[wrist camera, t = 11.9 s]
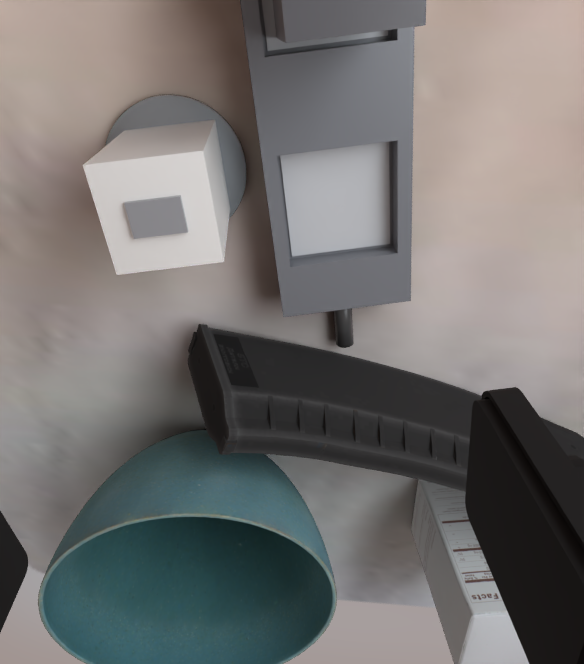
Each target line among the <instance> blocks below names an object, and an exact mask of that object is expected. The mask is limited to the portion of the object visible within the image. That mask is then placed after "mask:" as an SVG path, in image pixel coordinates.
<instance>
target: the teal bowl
mask: <svg viewBox="0 0 584 664" xmlns="http://www.w3.org/2000/svg"><path fill="white" fill-rule="evenodd" d="M38 597H39V598H38V606H39V612H40V617H41V620H42V622H43V624H44V626H45V628H46V630H47V631H48V633H49V634H50V635H51V637H52V638H53V639H54V640H55V641H56V642H57V643H58V644H59V645H60V646H61V647H62V648H63V649H64V650H65V651H67V652H68V653H69V654H71V655H72V656H74V657H75V658H77V659H78V660H80V661H82V662H84V663H86V664H284V663H285V662H288V661H290V660H291V659H293V658H295V657H296V656H298V655H299V654H301V653H302V652H304V651H305V650H306V649H307V648H309V647H310V646H311V645H312V644H314V643H315V642H316V641H317V640H318V638H320V636H321V635H322V634H323V633H324V632H325V630H326V629H327V627H328V626H329V624H330V622H331V620H332V618H333V615H334V612H335V608H336V601H337V594H336V587H335V582H334V576H333V572H332V568H331V565H330V561H329V558H328V554H327V551H326V548H325V545H324V543H323V540H322V537H321V535H320V532H319V530H318V527H317V525H316V523H315V521H314V518H313V516H312V514H311V513H310V511H309V509H308V507H307V505H306V503H305V502H304V500H303V498H302V497H301V495H300V494H299V492H298V490H297V489H296V488H295V486H294V485H293V484H292V482H291V481H290V479H289V478H288V477H287V476H286V475H285V473H284V472H283V471H282V470H281V469H280V468H279V467H278V466H277V465H276V464H275V463H274V462H273V461H272V460H271V459H270V458H268V457H267V456H266V455H265V454H261V453H231V454H230V455H221V454H219V451H218V448H217V445H216V442H215V441H214V440H213V439H212V438H210V437H209V435H208V433H207V430H196V431H189V432H185V433H181V434H178V435H175V436H172V437H169V438H167V439H164V440H162V441H160V442H158V443H156V444H154V445H152V446H150V447H148V448H146V449H145V450H143V451H141V452H140V453H138V454H137V455H135V456H134V457H132V458H131V459H130V460H129V461H127V462H126V463H125V464H124V465H122V466H121V467H120V468H119V469H118V470H116V471H115V472H114V473H113V474H112V475H111V476H110V477H109V478H108V479H107V480H106V481H105V482H104V483H103V484H102V485H101V486H100V488H99V489H98V490H97V491H96V492H95V493H94V495H93V496H92V497H91V498H90V499H89V501H88V502H87V503H86V505H85V506H84V507H83V509H82V510H81V511H80V513H79V514H78V516H77V517H76V519H75V520H74V521H73V523H72V525H71V526H70V528H69V529H68V531H67V533H66V534H65V536H64V538H63V539H62V541H61V543H60V544H59V546H58V548H57V550H56V552H55V554H54V556H53V558H52V560H51V562H50V564H49V566H48V569H47V571H46V574H45V576H44V578H43V581H42V583H41V586H40V591H39V596H38Z"/></svg>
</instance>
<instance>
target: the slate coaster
mask: <svg viewBox="0 0 584 664" xmlns="http://www.w3.org/2000/svg"><path fill="white" fill-rule="evenodd" d="M208 120H215V122H216V128H217V134H218V140H219V145H220V151H221V157H222V163H223V169H224V175H225V181H226V187H227V193H228V199H229V205H230V214H229V218H230V217H231V216H232V215H233V214H234V212H235V211H236V209H237V208H238V206H239V204H240V202H241V199H242V196H243V193H244V190H245V184H246V161H245V156H244V152H243V149H242V146H241V143H240V141H239V139H238V137H237V135H236V133H235V132H234V130H233V129H232V127H231V126H230V125H229V123H228V122H227V121H226V120H225V119H224V118H223V117H222V116H221V115H220V114H219V113H218V112H217V111H215V110H214V109H212V108H211V107H210V106H208V105H206V104H204V103H202V102H200V101H198V100H196V99H193V98H190V97H186V96H181V95H172V94H168V95H158V96H153V97H149V98H147V99H144V100H142V101H140V102H138V103H136V104H134V105H133V106H131V107H130V108H129V109H128V110H126V111H125V112H124V113H123V114H122V115H121V116H120V117H119V118H118V119H117V121H116V122H115V124H114V125H113V127H112V129H111V131H110V133H109V135H108V138H107V141H106V144H105V146H106V145H107V144H109V143H110V142H111V141H112V140H113V139H115V138H116V137H117V136H118V135H119V134H121V133H122V132H123V131H125V130H133V129H141V128H150V127H158V126H166V125H174V124H183V123H191V122H199V121H208Z"/></svg>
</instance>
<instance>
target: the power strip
mask: <svg viewBox="0 0 584 664" xmlns="http://www.w3.org/2000/svg"><path fill="white" fill-rule="evenodd" d="M240 3H241V10H242V17H243V25H244V32H245V39H246V47H247V54H248V61H249V69H250V76H251V83H252V91H253V98H254V105H255V113H256V120H257V127H258V134H259V142H260V149H261V156H262V164H263V171H264V178H265V186H266V193H267V200H268V208H269V215H270V222H271V230H272V237H273V244H274V251H275V259H276V266H277V273H278V281H279V288H280V295H281V303H282V310H283V317H289V316H297V315H305V314H312V313H320V312H328V311H334V320H335V333H336V344H337V346H339V347H342V348H346V347H350V346H352V345H353V326H352V308H359V307H366V306H374V305H382V304H390V303H397V302H405V301H411V233H412V160H413V88H414V27H408V28H400V29H392V30H384V31H377V32H369V33H361V34H353V35H346V36H338V37H330V38H322V39H315V40H307V41H299V42H291V43H285V42H283V41H281V40H279V39H277V37H276V28H275V19H274V10H273V1H272V0H240Z"/></svg>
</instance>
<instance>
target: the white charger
mask: <svg viewBox="0 0 584 664" xmlns="http://www.w3.org/2000/svg"><path fill="white" fill-rule="evenodd" d="M83 168H84V171H85V174H86V177H87V181H88V184H89V187H90V190H91V193H92V197H93V200H94V203H95V206H96V210H97V213H98V216H99V219H100V223H101V226H102V229H103V232H104V235H105V239H106V242H107V245H108V248H109V252H110V255H111V258H112V261H113V265H114V268H115V271H116V274H117V275H121V274H129V273H138V272H146V271H154V270H162V269H171V268H179V267H187V266H195V265H203V264H212V263H220V262H224V257H225V249H226V240H227V231H228V223H229V214H230V205H229V199H228V193H227V187H226V181H225V175H224V169H223V163H222V157H221V151H220V145H219V140H218V134H217V128H216V122H215V120H208V121H199V122H191V123H183V124H174V125H166V126H158V127H150V128H141V129H133V130H125V131H123V132H122V133H121V134H119V135H118V136H117V137H116V138H115V139H113V140H112V141H111V142H110V143H109V144H107V145H106V146H105V147H104V148H103V149H101V150H100V151H99V152H98V153H97V154H96V155H94V156H93V157H92V158H91V159H90V160H88V161H87V162H86V163H85V164H84V165H83Z"/></svg>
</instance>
